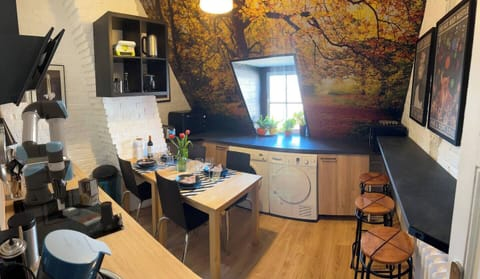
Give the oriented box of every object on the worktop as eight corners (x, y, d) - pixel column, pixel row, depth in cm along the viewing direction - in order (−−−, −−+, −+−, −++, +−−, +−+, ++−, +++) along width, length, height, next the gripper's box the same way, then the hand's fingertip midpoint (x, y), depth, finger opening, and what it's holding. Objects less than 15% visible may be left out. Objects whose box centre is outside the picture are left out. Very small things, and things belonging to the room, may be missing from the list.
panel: (60, 217, 166) (60, 215, 166) (81, 209, 176) (81, 207, 176) (86, 226, 154) (85, 224, 154) (106, 217, 165) (106, 215, 165)
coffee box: (100, 203, 185) (97, 178, 182) (92, 207, 179) (90, 181, 176) (88, 202, 187) (85, 177, 184) (80, 206, 181) (77, 180, 178)
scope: (121, 201, 151) (101, 207, 144) (123, 227, 153) (104, 234, 146) (114, 197, 156) (94, 203, 149) (116, 222, 159) (97, 229, 151)
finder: (63, 214, 166) (62, 209, 166) (71, 211, 171) (71, 206, 170) (69, 217, 163) (68, 211, 163) (78, 213, 168) (77, 208, 167)
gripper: (43, 169, 167) (48, 209, 171) (56, 172, 160) (61, 213, 164) (57, 166, 173) (62, 204, 177) (70, 169, 166) (74, 208, 171)
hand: (61, 209), depth 171 cm, fingers closed
